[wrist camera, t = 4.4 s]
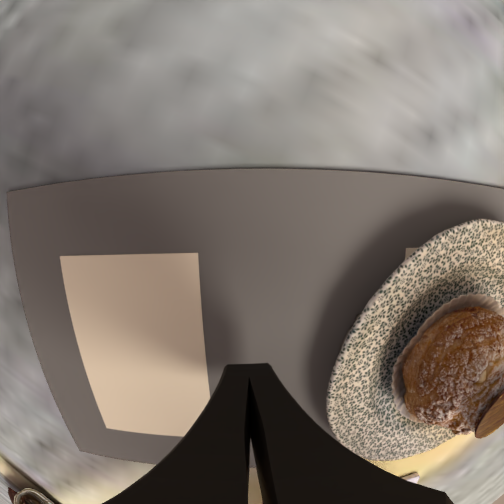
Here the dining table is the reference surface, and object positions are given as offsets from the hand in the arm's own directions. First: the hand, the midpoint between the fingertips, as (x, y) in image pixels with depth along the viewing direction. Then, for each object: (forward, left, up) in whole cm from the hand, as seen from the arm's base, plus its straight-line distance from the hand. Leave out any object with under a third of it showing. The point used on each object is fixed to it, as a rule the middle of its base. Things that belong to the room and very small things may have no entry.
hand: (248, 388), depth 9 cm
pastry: (-1, -9, -2) cm, 9 cm away
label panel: (0, -4, -2) cm, 4 cm away
